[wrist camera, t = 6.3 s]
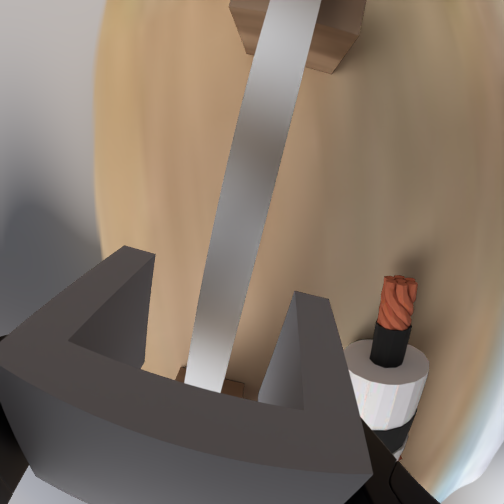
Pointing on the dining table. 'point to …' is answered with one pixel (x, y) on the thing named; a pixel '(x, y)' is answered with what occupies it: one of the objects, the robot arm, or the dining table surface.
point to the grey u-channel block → (176, 405)
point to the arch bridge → (259, 160)
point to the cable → (389, 367)
